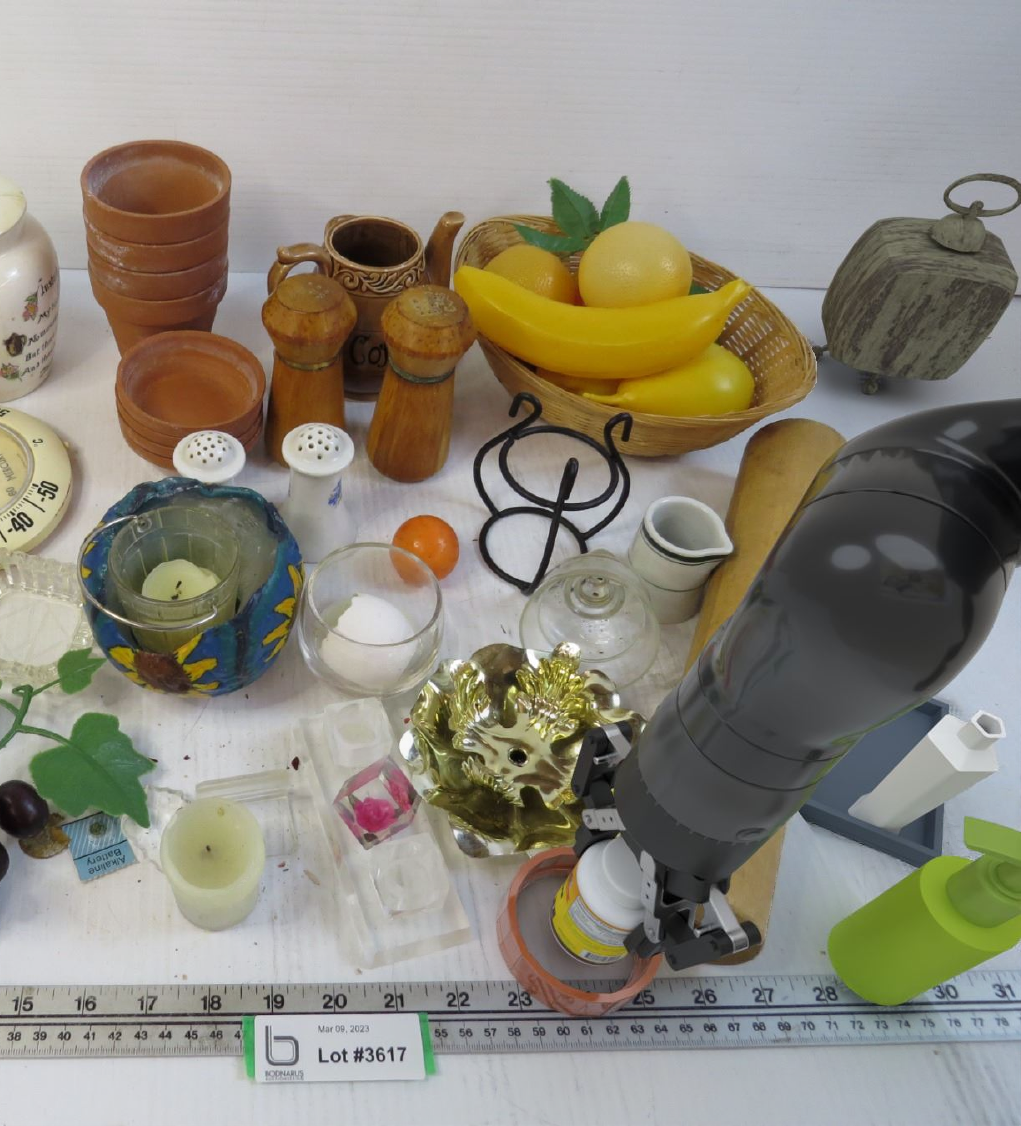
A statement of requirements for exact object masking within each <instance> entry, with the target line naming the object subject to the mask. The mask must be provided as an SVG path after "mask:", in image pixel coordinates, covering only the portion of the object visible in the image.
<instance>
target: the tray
mask: <svg viewBox="0 0 1021 1126" xmlns="http://www.w3.org/2000/svg"><path fill="white" fill-rule="evenodd" d="M947 714H949V715H950V704H949V703H946V702H943V701H941V700H938V699H936V698H934V697H932V698H931V699H930V700H928V701H927V702H925V703H923V704H922V705H920V706H918V707H917V708H915V709H913V710H911V711H909V712H908V713H906V714H904V715H902V716H900V717H898V718H896V719H895V720H893V721H891V722H889V723H887V724H885V725H884V726H881V727H879V728H877V729H875V730H872V731H870V732H867V733H866V734H865V735H864V736H863V737H862V739H861V740H860V741H859V742H858V743H857V744H856V745H855V746H854V747H853V748H852V749H851V750H850V751H849V752H848V753H847V754H846V755H845V756H844V757H843V758H842V759H841V760H840V761H839V762H838V763H837V764H836V765H835V766H834V767H833V768H832V769H831V770H830V771H829V772H828V773H827V774H826V775H825V776H824V777H823V778H822V780H821V781H820V783H819V785H818V786H817V788H816V790H815V791H814V793H813V794H812V796H811V797H810V798H809V800H808V801H807V802H806V803H805V804H804V805H803V806H802V807H801V809H800V810H799V811H798V813H799V814H800V816H801V817H802V819H803V820H805V821H808V822H810V823H812V824H815V825H816V826H820V827H822V828H824V829H825V830H829V831H831V832H833V833H836V834H838V835H840V836H842V837H845V838H848V839H849V840H852V841H855V842H857V843H859V844H862V845H864V846H866V847H869V848H871V849H872V850H873V849H874V850H876V851H878V852H881V853H883V854H885V855H888V856H889V857H893V858H895V859H897V860H899V861H902V862H904V863H906V864H909V865H911V866H913V867H916V868H917V869H918V868H920V867H921V866H923V865H924V864H926V863H927V862H929V861H930V860H932V859H934V858H936V857H940V856H943V837H944V836H943V835H944V819H945V817H944V816H945V802H944V803H943V804H941V805H939V806H938V807H936V808H934V809H933V810H931V811H929V812H928V813H926V814H924V815H922V816H921V817H919V818H917V819H916V820H914V821H912V822H911V823H909V824H907V825H906V826H904V827H902V828H901V830H900V832H899V834H898V835H896V834H893V833H891V832H889V831H886V830H884V829H881V828H879V827H877V826H874V825H872V824H870V823H867V822H865V821H862V820H860V819H858V818H855V817H853V816H850V814H849V813H848V809H849V808H850V807H851V806H852V805H853V804H854V803H855V802H856V801H857V800H858V799H859V798H860V797H861V796H863V795H866V794H869V793H871V792H872V791H873V790H874V789H875V788H876V787H877V786H878V785H879V784H880V783H881V782H882V781H883V780H884V779H885V777H886V776H887V775H888V774H889V773H890V772H891V771H892V770H893V769H894V768H895V767H896V766H897V765H898V764H899V763H900V762H901V761H902V760H903V759H904V758H905V757H906V756H907V755H908V753H909V752H910V751H911V750H912V749H913V748H914V747H915V746H916V745H917V744H918V743H919V742H920V741H921V740H922V739H923V738H924V737H925V736H926V735H927V734H928V733H929V732H930V731H931V730H932V729H933V728H934V727H935V726H936V725H937V724H938V723H939V722H940V721H941V720H942V719H943V718H944V717H945V715H947Z"/></svg>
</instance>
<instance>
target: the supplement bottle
mask: <svg viewBox="0 0 1021 1126" xmlns="http://www.w3.org/2000/svg"><path fill="white" fill-rule="evenodd" d="M641 880H642V871H641V869H640V866H639V864H638V862H637V859H636V857H635V855H634V853H633V852H632V851H631V849H630V848H629V847H628V846H627V844H626V843H625V841H624V839H623V837H622V836H621V835H620V836H618V837H617V836H616V838H615V839H608V840H603V841H600V842H598V843H595V844H594V845H592V846H591V847H590V848H588V849H587V850H586V852H585V853H584V854H583V855H582V857H581V858H580V860H579V861H578V863H577V864H576V866H575V867H574V869H573V870H572V872H571V873H570V875H569V876H568V877H566V879H565V881H564V882H563V884H562V885H561V887H560V888H559V890H558V891H557V892H556V894H555V896H554V897H553V900H552V902H551V904H550V907H549V925H550V929H551V931H552V935H553V936H554V939H555V941H556V942H557V944H558V945H559V946H560V947H561V948H562V950H563V951H564V952H566V954H568V956H570V957H571V958H572V959H574V960H576V961H578V962H580V963H582V964H585V965H587V966H592V967H608V966H611V965H614V964H616V963H619V961H621V960H622V959H624V958H625V957H626V956H627V955H629V954H628V952H627V950H626V948H625V946H624V944H623V941H624V940H625V939H626V938H627V937H628V936H629V935H630V934H631V933H632V932H633V931H634V929H635V928H636V927H637V926H638V925H639V924H640V923H642V922H644V917H645V909H646V908H645V907H644V906H643V905H642V904H641V902H640V901H639V898H640V889H641Z"/></svg>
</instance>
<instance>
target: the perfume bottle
mask: <svg viewBox="0 0 1021 1126" xmlns="http://www.w3.org/2000/svg"><path fill="white" fill-rule="evenodd" d="M1004 738H1007V732H1006V728H1005V723H1004V721H1003V720H1002V719H1001V718H1000V717H998V716H996V715H994V714H992V713H989V712H987V711H985V710H983V709H980V710H978V711H977V712H976V713H975V714H974V715H972V717H971V718H970V720H969V721H968V722H967V721H965V720H962V719H961V718H958V717H956V716H954V715H952V714H950V713H949V714H947V715H945V717H944V718H943V719H942V720H941V721H940V722H939V723H938V724H937V725H936V726H935V727H934V728H933V729H932V730H931V731H930V732H929V733H928V734H927V735H926V736H925V737H924V738H923V739H922V740H921V741H920V742H919V743H918V744H917V745H916V746H915V747H914V748H913V749H912V750H911V751H910V752H909V753H908V755H907V756H906V757H905V758H904V759H903V760H902V761H901V762H900V763H899V764H898V765H897V766H896V767H895V768H894V769H893V770H892V771H891V772H890V773H889V774H888V775H887V776H886V777H885V779H884V780H883V781H882V782H881V783H880V784H879V785H878V786H877V787H876V788H875V789H874V790H873V791H872V792H871V793H869V794H866V795H863V796H861V797H860V798H859V799H858V800H857V801H856V802H855V803H854V804H853V805H852V806H851V807H850V808H849V809H848V813H849V814H850V816H853V817H855V818H858V819H860V820H862V821H865V822H867V823H870V824H872V825H874V826H877V827H879V828H881V829H884V830H886V831H889V832H891V833H893V834H896V835H898V834H899V832H900V830H901V828H902V827H904V826H906V825H907V824H909V823H911V822H912V821H914V820H916V819H917V818H919V817H921V816H922V815H924V814H926V813H928V812H929V811H931V810H933V809H934V808H936V807H938V806H939V805H941V804H943V803H944V804H945V803H946V802H948V801H950V800H951V799H954V797H956V796H958V795H960V794H961V793H963V792H965V791H967V790H968V789H971V788H972V787H973V786H975V785H976V784H978V783H980V782H982V781H983V780H986V779H987V778H989V777H990V776H992V775H994V774H995V773H997V772H998V771H999V770H1000V766H999V762H998V756H997V752H996V747H995V743H996V742H997V741H998V740H1000V739H1004Z"/></svg>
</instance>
